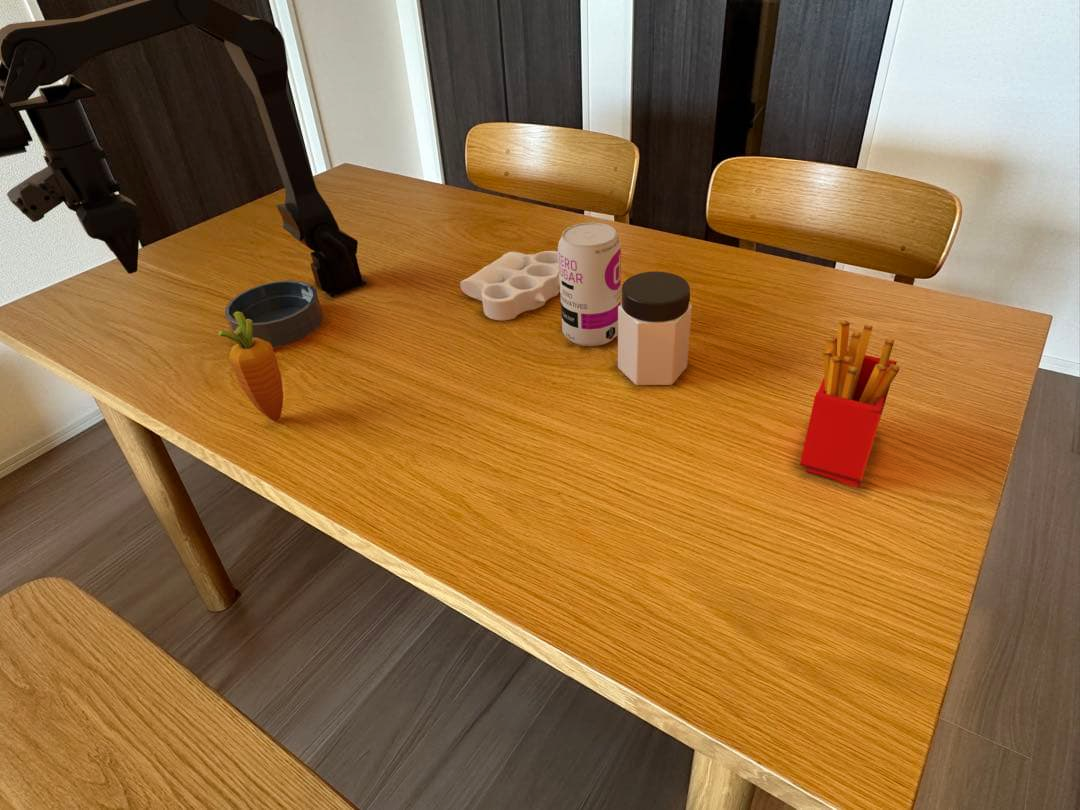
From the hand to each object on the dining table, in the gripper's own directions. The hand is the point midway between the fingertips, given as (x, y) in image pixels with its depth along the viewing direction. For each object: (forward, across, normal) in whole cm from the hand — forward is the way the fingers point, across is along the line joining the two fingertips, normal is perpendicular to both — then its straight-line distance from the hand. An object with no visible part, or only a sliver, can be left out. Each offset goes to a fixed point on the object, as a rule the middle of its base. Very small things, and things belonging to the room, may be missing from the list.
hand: (124, 261), depth 93 cm
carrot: (+15, +28, +6) cm, 32 cm away
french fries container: (+14, +77, +50) cm, 93 cm away
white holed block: (+14, +23, +48) cm, 55 cm away
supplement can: (+14, +40, +48) cm, 64 cm away
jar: (+14, +52, +48) cm, 72 cm away
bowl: (+14, +6, +15) cm, 22 cm away
